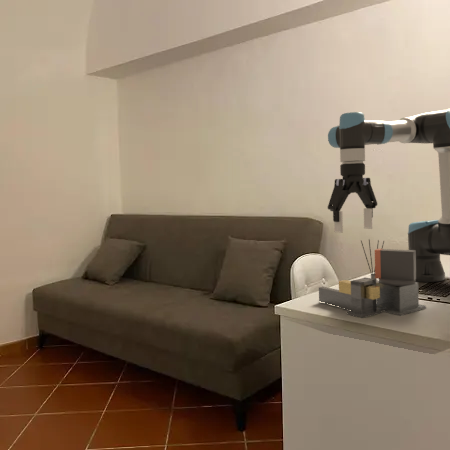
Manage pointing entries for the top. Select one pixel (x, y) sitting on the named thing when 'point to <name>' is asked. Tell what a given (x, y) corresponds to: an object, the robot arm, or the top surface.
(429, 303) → the top surface
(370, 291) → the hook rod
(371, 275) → the reed diffuser
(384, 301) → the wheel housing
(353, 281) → the eye bracket
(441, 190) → the robot arm
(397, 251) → the grey block orange side
